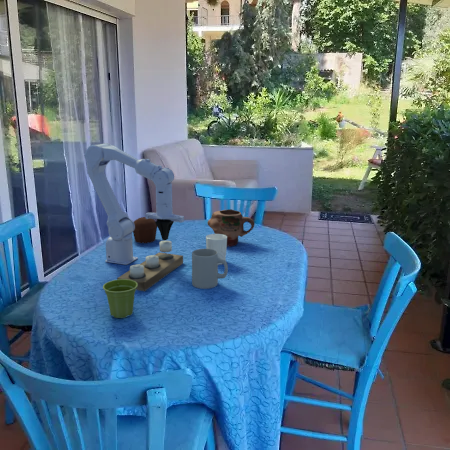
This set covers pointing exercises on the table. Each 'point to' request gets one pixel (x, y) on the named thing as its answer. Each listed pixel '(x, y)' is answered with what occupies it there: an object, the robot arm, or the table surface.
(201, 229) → the table surface
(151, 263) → the knob middle
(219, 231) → the brown ceramic rounded pot
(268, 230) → the table surface
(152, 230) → the muffin
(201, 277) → the mug
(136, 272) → the knob near
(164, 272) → the knob strip
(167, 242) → the knob far
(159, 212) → the robot arm
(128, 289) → the plant pot
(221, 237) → the white cup
